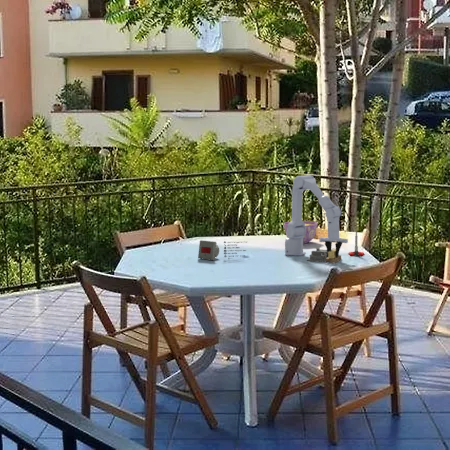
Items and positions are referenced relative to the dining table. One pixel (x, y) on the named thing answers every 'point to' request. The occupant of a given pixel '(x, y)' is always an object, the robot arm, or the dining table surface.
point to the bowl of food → (310, 230)
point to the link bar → (332, 253)
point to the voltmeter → (212, 250)
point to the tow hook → (356, 249)
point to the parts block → (333, 259)
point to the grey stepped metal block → (318, 255)
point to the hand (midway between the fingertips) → (333, 256)
